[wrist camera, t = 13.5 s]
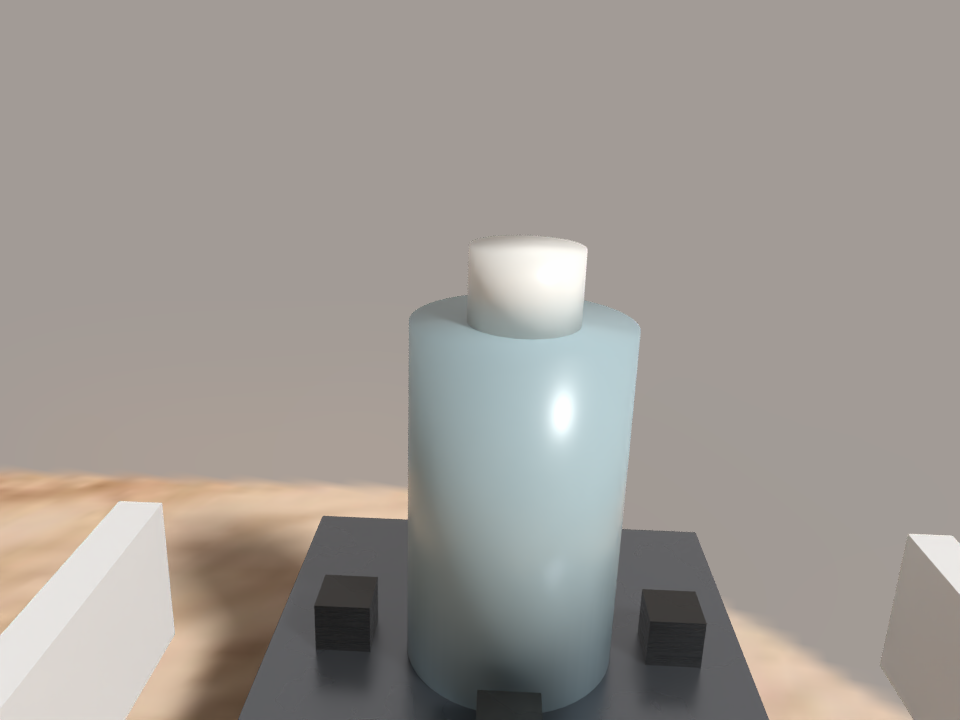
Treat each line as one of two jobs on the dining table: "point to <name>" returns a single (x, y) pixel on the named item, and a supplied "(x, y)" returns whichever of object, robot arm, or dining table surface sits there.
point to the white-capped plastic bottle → (517, 475)
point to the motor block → (499, 714)
